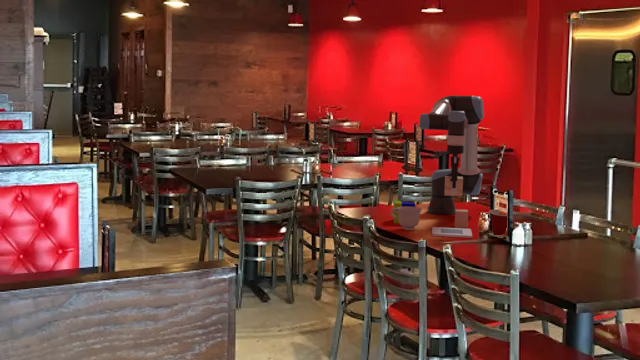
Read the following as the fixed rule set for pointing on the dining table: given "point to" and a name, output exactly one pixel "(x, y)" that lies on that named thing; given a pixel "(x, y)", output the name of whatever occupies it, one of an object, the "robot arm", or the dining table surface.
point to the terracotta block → (461, 218)
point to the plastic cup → (498, 222)
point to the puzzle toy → (401, 204)
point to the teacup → (407, 216)
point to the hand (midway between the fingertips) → (453, 193)
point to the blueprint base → (451, 232)
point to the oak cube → (448, 186)
